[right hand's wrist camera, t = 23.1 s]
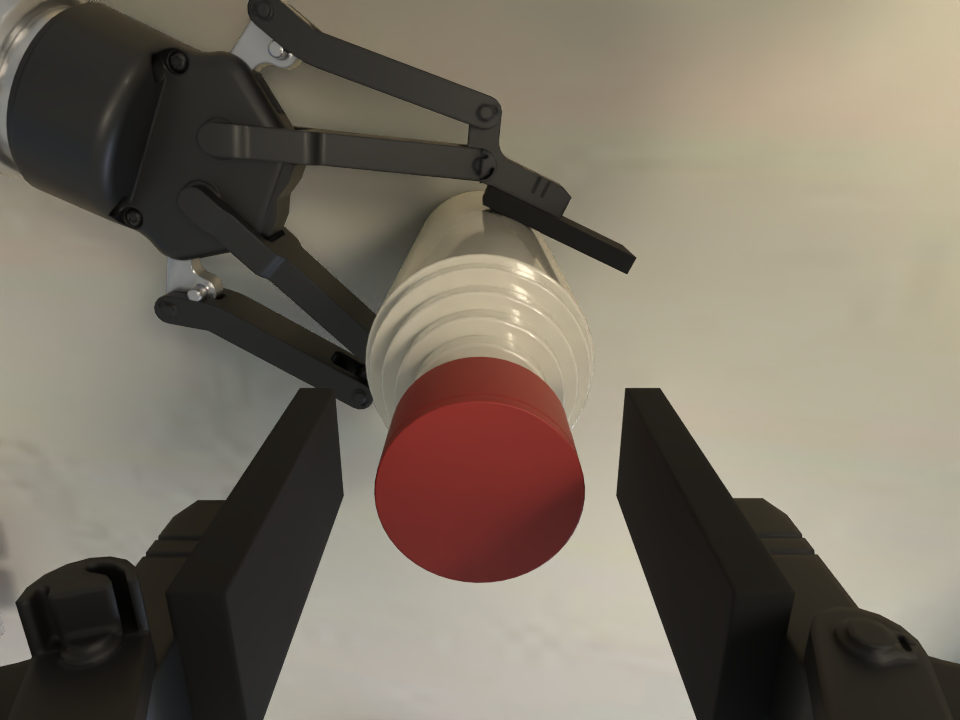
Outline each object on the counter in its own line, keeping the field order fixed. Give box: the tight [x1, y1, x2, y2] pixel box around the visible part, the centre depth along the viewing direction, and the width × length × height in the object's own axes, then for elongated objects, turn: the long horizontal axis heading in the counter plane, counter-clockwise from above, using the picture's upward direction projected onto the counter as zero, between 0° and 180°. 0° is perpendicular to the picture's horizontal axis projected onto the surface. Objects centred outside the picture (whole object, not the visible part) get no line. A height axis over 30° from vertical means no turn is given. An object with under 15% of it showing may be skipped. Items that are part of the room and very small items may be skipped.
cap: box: [374, 357, 585, 583], centre depth 14 cm, size 4×4×2 cm
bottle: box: [365, 191, 594, 431], centre depth 24 cm, size 7×7×23 cm
